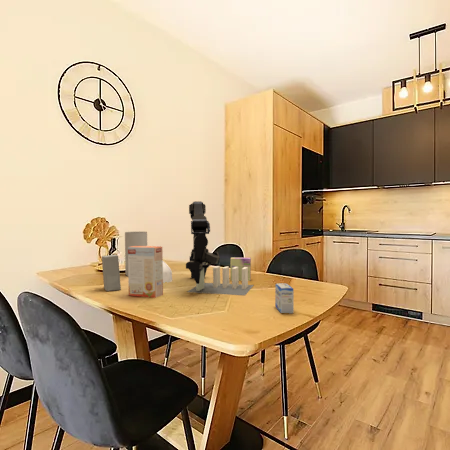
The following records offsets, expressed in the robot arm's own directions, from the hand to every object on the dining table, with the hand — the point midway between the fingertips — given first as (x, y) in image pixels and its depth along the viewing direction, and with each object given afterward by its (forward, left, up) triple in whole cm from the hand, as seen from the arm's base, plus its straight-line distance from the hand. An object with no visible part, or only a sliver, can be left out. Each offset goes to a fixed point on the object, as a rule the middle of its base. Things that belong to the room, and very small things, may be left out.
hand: (200, 282), depth 135 cm
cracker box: (-20, -12, -4) cm, 24 cm away
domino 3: (+9, +10, -4) cm, 14 cm away
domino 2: (+5, +10, -4) cm, 12 cm away
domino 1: (0, 0, -3) cm, 3 cm away
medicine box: (+38, -19, -4) cm, 43 cm away
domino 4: (+14, +10, -4) cm, 17 cm away
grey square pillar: (-51, +31, -4) cm, 60 cm away
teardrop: (-28, +18, -5) cm, 34 cm away
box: (+12, +28, -4) cm, 31 cm away
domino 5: (+18, +10, -4) cm, 21 cm away
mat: (+8, +6, -4) cm, 11 cm away
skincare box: (-42, -5, -4) cm, 43 cm away
